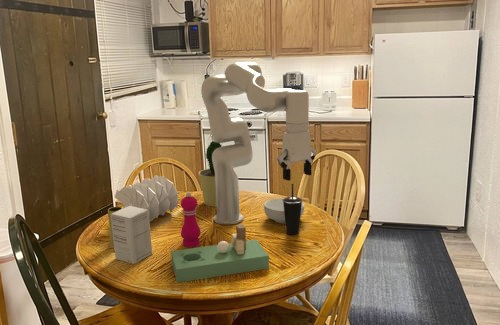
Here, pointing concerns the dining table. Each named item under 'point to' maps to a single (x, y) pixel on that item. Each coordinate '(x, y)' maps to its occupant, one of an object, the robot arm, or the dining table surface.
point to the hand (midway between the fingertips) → (297, 177)
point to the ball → (223, 247)
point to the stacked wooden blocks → (239, 239)
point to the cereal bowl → (277, 210)
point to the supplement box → (131, 234)
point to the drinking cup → (292, 214)
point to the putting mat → (217, 261)
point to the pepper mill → (190, 222)
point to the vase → (110, 211)
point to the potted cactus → (209, 177)
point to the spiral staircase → (150, 196)
